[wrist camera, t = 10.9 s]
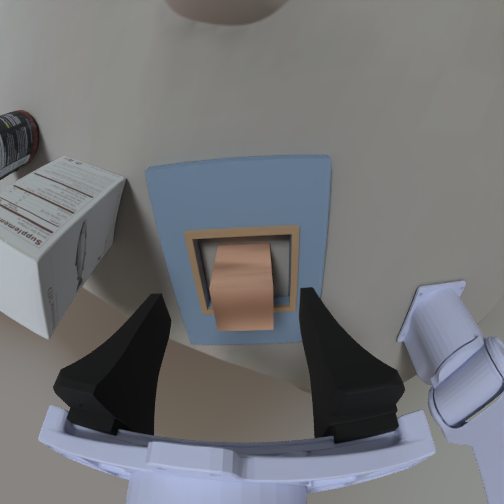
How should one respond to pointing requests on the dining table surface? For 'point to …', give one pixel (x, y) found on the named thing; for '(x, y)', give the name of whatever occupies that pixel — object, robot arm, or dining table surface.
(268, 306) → the block
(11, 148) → the supplement bottle
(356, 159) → the dining table surface
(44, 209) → the supplement box
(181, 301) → the blue board with hole
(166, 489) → the robot arm
